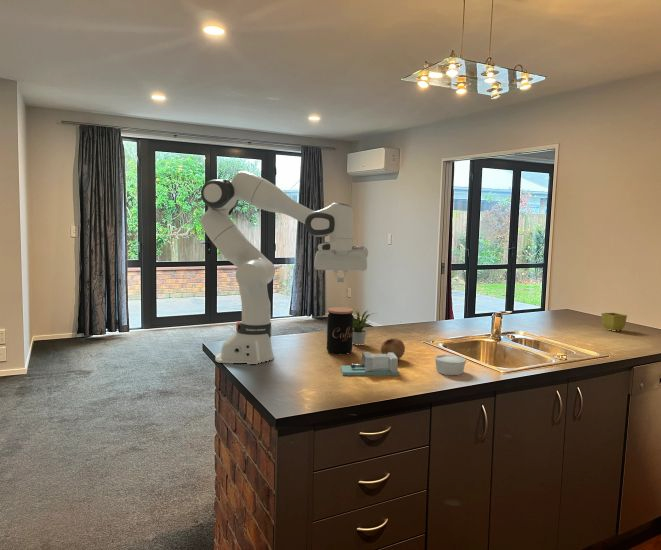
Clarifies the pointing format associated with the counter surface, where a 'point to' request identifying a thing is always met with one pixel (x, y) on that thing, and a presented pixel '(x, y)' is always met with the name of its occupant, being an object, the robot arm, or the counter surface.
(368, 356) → the jaw
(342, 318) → the coffee jar
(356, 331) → the house plant
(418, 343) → the counter surface
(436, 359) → the ramekin
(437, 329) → the counter surface
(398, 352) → the onion
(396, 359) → the vise
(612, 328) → the flower pot
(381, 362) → the block
